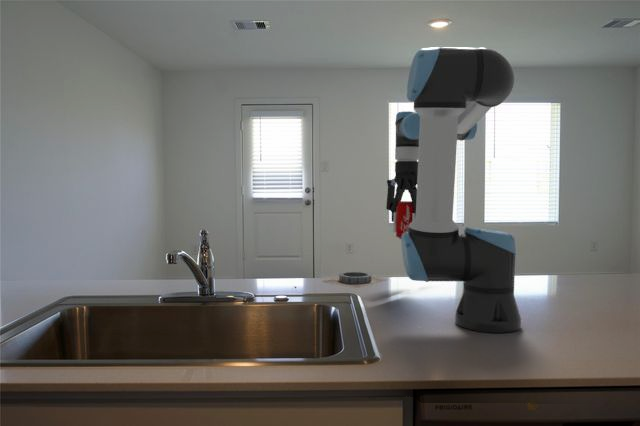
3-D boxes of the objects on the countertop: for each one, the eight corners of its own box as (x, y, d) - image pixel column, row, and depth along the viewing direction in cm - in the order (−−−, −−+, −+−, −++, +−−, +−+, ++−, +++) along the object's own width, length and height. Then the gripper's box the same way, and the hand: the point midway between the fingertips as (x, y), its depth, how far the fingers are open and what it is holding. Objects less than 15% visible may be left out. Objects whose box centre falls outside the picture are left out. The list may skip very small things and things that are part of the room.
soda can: (392, 238, 170) (392, 201, 169) (408, 237, 172) (408, 201, 172) (403, 240, 164) (403, 202, 163) (419, 239, 167) (420, 201, 166)
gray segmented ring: (358, 285, 165) (358, 278, 165) (333, 280, 172) (333, 274, 172) (377, 280, 173) (377, 274, 173) (352, 276, 180) (352, 270, 180)
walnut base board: (356, 292, 161) (356, 287, 161) (321, 286, 170) (321, 281, 170) (388, 283, 175) (388, 279, 175) (354, 278, 184) (354, 274, 184)
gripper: (439, 160, 163) (438, 234, 165) (388, 161, 176) (387, 230, 177) (428, 159, 158) (426, 235, 159) (375, 161, 170) (374, 231, 172)
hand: (405, 232), depth 168 cm, fingers closed on soda can, 6 cm apart
